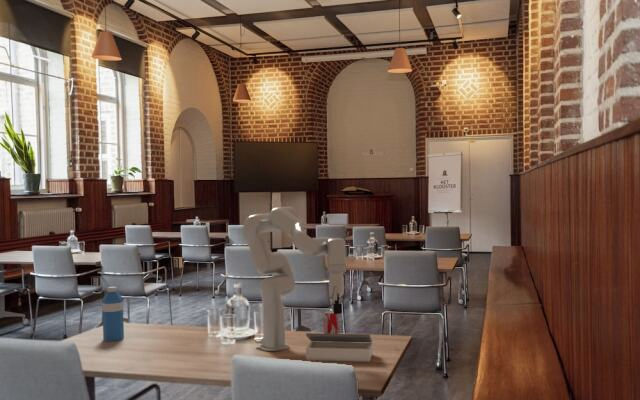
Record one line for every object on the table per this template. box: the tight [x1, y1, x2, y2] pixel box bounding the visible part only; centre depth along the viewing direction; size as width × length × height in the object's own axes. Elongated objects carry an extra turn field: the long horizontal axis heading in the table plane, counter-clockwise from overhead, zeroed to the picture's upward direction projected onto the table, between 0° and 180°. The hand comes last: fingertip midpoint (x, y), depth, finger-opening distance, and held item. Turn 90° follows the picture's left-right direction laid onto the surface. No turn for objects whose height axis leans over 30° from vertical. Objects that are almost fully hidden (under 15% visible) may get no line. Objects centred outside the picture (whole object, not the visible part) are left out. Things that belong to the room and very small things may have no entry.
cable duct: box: [305, 341, 373, 363], centre depth 260 cm, size 26×11×5 cm, turn 80°
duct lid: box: [305, 332, 373, 344], centre depth 260 cm, size 26×11×1 cm, turn 80°
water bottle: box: [101, 286, 125, 342], centre depth 302 cm, size 9×9×25 cm
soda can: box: [323, 310, 340, 334], centre depth 296 cm, size 7×7×12 cm
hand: (337, 313), depth 256 cm, fingers closed
